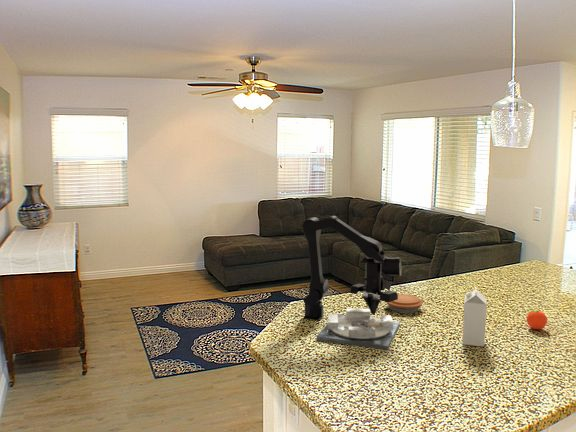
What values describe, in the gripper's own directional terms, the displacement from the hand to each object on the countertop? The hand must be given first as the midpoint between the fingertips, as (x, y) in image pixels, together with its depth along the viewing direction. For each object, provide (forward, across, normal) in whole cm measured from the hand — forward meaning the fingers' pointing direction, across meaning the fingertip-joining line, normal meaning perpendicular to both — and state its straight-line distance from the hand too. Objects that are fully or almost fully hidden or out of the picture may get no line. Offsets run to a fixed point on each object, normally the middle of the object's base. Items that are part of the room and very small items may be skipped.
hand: (373, 314), depth 199 cm
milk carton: (+5, -34, -12) cm, 37 cm away
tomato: (+6, -43, -41) cm, 60 cm away
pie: (+4, +3, -24) cm, 25 cm away
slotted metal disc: (+2, -2, +10) cm, 11 cm away
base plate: (+4, -2, +10) cm, 11 cm away
